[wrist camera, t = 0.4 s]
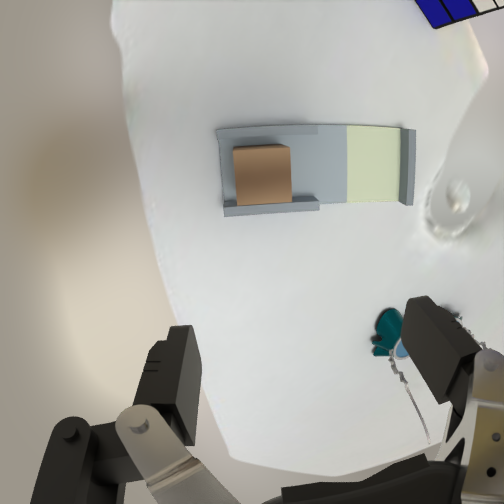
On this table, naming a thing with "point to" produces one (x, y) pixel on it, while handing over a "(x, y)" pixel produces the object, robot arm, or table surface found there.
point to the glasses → (399, 346)
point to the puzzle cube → (456, 10)
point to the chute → (328, 165)
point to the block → (262, 174)
